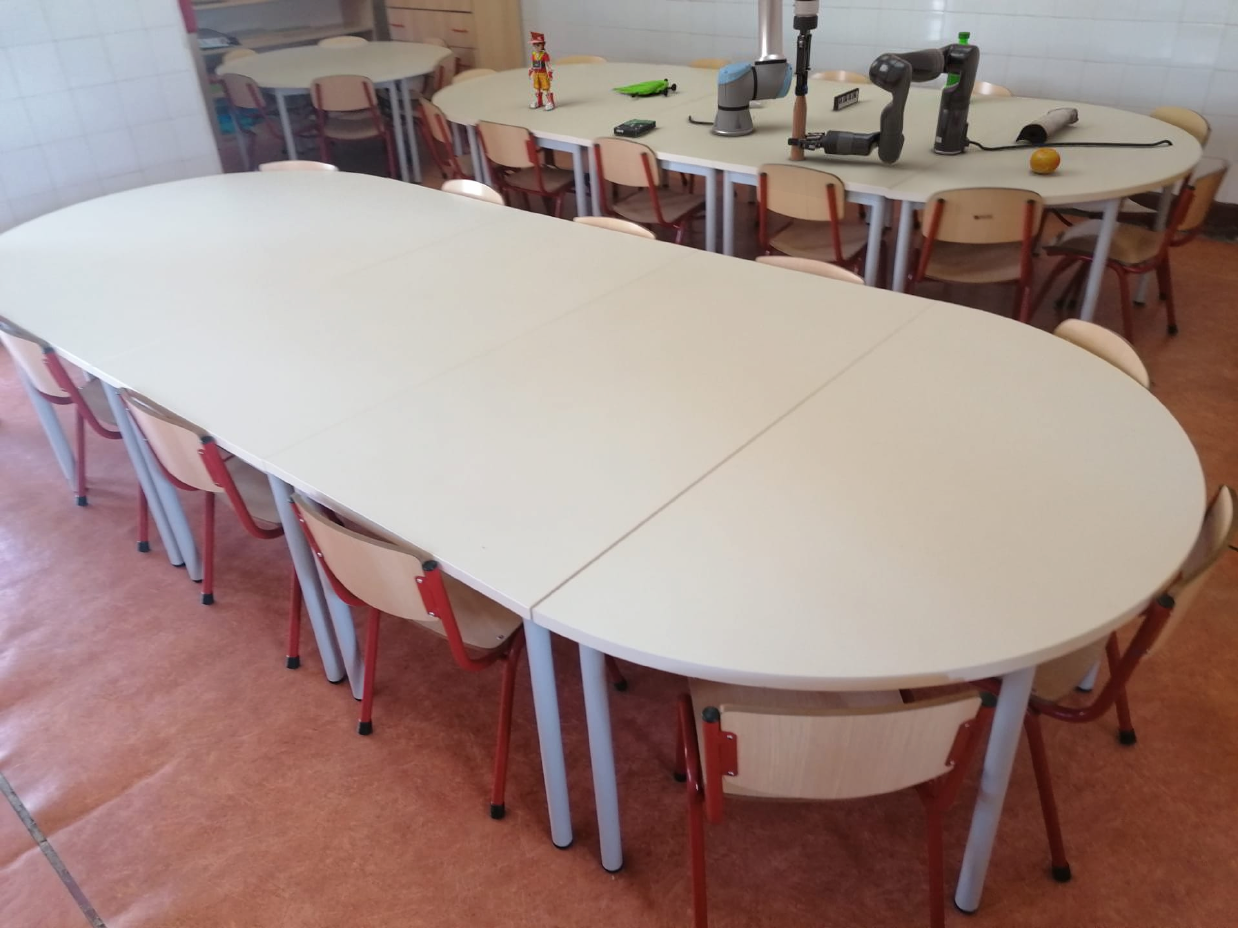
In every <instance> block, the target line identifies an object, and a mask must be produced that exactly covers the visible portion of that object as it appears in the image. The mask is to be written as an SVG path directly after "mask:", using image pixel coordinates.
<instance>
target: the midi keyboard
mask: <svg viewBox="0 0 1238 928" xmlns="http://www.w3.org/2000/svg"><path fill="white" fill-rule="evenodd" d="M859 94H860V88H859V87H856V88H853V89H850V90H848V91H846V92H843V93H840V94H838V95H835V96H834V97H833V108H832V110H833V111H838V110H840V109H842V108H844V107H846V106H849V105H852V104H854V103H856V102H858V101H859Z"/></svg>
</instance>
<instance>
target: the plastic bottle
mask: <svg viewBox="0 0 1238 928" xmlns="http://www.w3.org/2000/svg"><path fill="white" fill-rule="evenodd" d="M970 36H971V32H970V31H959V32H958V36H957V39H958V43H959V44H969V45H971V44H970V43H969V42H968V41H969V39H970V38H971V37H970ZM946 77H947V78H946V84H945V85H944V87H943V88H945V87H947V86H950V85H954V84H957V83H958V82H959V79H960V76H958V75H950V74H947V76H946Z"/></svg>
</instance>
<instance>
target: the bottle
mask: <svg viewBox="0 0 1238 928" xmlns="http://www.w3.org/2000/svg"><path fill="white" fill-rule="evenodd" d="M806 95H807V94H806ZM806 95H804V96H795V100H794V104H793V108H792V109H793V111H792V126H791V127H792V129H791V138H798V139H800V138H801V139H805V134H807V133H806V131H807V117H808V116H807V115H808V103H807V97H806ZM803 145H805V143H803ZM790 146H791V147H790V160H791V161H797V162H798V161H803V160H805V149H800V148H799V146H793V145H790Z"/></svg>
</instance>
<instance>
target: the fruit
mask: <svg viewBox="0 0 1238 928" xmlns="http://www.w3.org/2000/svg"><path fill="white" fill-rule="evenodd" d="M1061 160H1062V159H1061V156H1060V153H1059V151H1057V150H1055V149H1053V148H1050V147H1044V148H1039V149H1037V150H1035V151H1034V152H1033V153H1032V155H1031V156H1030V158H1029V167H1030V169H1031V171H1033V172H1035V173H1036V174H1051V173H1053V172H1055V171H1056V170H1057V169H1058V168H1059V166H1060V164H1061Z"/></svg>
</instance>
